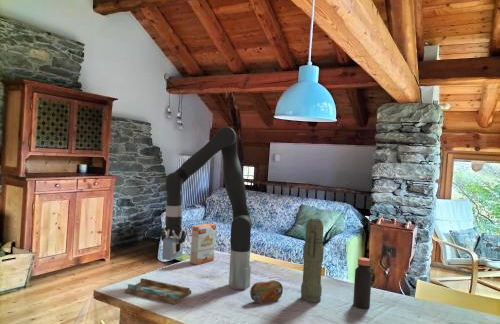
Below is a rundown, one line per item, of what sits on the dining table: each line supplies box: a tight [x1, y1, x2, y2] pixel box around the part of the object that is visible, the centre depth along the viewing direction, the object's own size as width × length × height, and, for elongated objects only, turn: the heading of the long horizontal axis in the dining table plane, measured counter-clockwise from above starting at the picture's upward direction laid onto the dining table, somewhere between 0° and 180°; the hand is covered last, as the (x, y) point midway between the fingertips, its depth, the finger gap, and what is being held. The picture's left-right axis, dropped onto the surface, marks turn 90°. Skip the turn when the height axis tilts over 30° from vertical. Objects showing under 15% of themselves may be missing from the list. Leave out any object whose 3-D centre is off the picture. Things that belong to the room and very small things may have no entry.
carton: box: [161, 236, 184, 261], centre depth 170 cm, size 5×10×9 cm, turn 159°
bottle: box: [352, 257, 373, 309], centre depth 154 cm, size 7×7×20 cm
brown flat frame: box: [124, 278, 192, 305], centre depth 156 cm, size 25×13×3 cm, turn 69°
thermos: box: [300, 218, 325, 304], centre depth 158 cm, size 9×12×35 cm
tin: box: [249, 279, 284, 304], centre depth 154 cm, size 15×3×8 cm, turn 117°
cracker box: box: [189, 223, 217, 266], centre depth 204 cm, size 14×6×21 cm, turn 143°
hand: (172, 250), depth 170 cm, fingers closed on carton, 5 cm apart
